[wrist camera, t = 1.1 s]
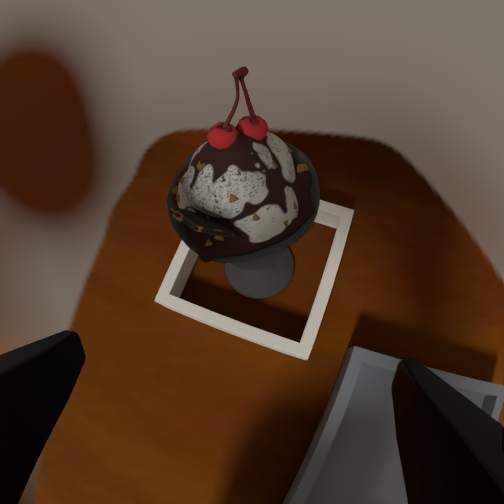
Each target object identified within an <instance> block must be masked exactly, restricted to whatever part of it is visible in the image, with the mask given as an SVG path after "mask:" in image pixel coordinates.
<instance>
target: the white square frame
mask: <svg viewBox="0 0 504 504" xmlns="http://www.w3.org/2000/svg"><path fill="white" fill-rule="evenodd" d="M353 213H354V210H352V209H349V208H345V207H342V206H339V205H336V204H333V203H329V202H326V201H323V200H320V204H319V208H318V213H317V216H316V218H315V220H314V222H317V223H320V224H323V225H326V226H330V227H333V228H336V229H337V230H336V233H335V236H334V240H333V243H332V246H331V250H330V253H329V256H328V259H327V263H326V266H325V269H324V272H323V275H322V278H321V281H320V285H319V288H318V291H317V294H316V297H315V300H314V303H313V306H312V309H311V311H310V314H309V317H308V320H307V323H306V326H305V329H304V332H303V334H302V337H301V340H300V343H298V342H295V341H292V340H289V339H287V338H284V337H281V336H278V335H275V334H272V333H269V332H267V331H264V330H261V329H258V328H255V327H253V326H250V325H247V324H244V323H242V322H239V321H236V320H234V319H231V318H228V317H226V316H223V315H221V314H218V313H215V312H213V311H210V310H208V309H205V308H203V307H200V306H198V305H195V304H192V303H190V302H188V301H185V300H183V299H180V296H181V294H182V291H183V289H184V287H185V284H186V282H187V280H188V278H189V275H190V273H191V271H192V269H193V266H194V264H195V262H196V260H197V257H198V254H196V253H195V252H194V251H192V250H191V249H190V248H189V247H188V246H187V245H186V244H185V243H184V242H183V240H182V241H181V243H180V245H179V248H178V250H177V252H176V254H175V256H174V258H173V260H172V263H171V265H170V267H169V269H168V271H167V274H166V276H165V278H164V280H163V282H162V285H161V287H160V289H159V291H158V294H157V296H156V298H155V300H154V301H156V302H158V303H159V304H161V305H163V306H164V307H166V308H169V309H171V310H173V311H176V312H178V313H181V314H183V315H185V316H188V317H190V318H192V319H195V320H197V321H200V322H202V323H205V324H207V325H210V326H212V327H215V328H217V329H220V330H222V331H225V332H227V333H230V334H233V335H235V336H238V337H241V338H243V339H246V340H249V341H251V342H254V343H257V344H259V345H262V346H265V347H268V348H271V349H273V350H276V351H279V352H282V353H285V354H288V355H291V356H294V357H297V358H300V359H303V360H308V358H309V355H310V352H311V349H312V347H313V344H314V341H315V338H316V335H317V332H318V329H319V326H320V324H321V321H322V318H323V315H324V312H325V308H326V305H327V302H328V299H329V296H330V293H331V290H332V287H333V283H334V280H335V277H336V273H337V270H338V267H339V263H340V260H341V257H342V253H343V250H344V246H345V243H346V239H347V235H348V232H349V228H350V224H351V221H352V217H353Z"/></svg>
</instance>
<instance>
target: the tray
mask: <svg viewBox="0 0 504 504" xmlns="http://www.w3.org/2000/svg"><path fill="white" fill-rule="evenodd" d="M400 360H401V359H397V358H394V357H390V356H387V355H384V354H380V353H377V352H373V351H370V350H367V349H364V348H360V347H357V346H353V347H350V348H348V349H347V350H346V353H345V356H344V359H343V362H342V365H341V367H340V370H339V373H338V376H337V379H336V381H335V384H334V387H333V390H332V392H331V395H330V398H329V400H328V403H327V405H326V408H325V410H324V413H323V416H322V418H321V420H320V423H319V425H318V428H317V430H316V433H315V435H314V437H313V440H312V442H311V444H310V447H309V449H308V451H307V453H306V456H305V458H304V460H303V462H302V464H301V466H300V469H299V471H298V473H297V475H296V477H295V479H294V481H293V483H292V485H291V487H290V489H289V491H288V493H287V495H286V497H285V499H284V501H283V503H282V504H408V501H407V495H406V489H405V483H404V477H403V471H402V466H401V460H400V455H399V450H398V445H397V439H396V431H395V420H394V410H393V400H392V392H391V386H392V381H393V378H394V375H395V372H396V369H397V366H398V363H399V361H400ZM427 368H428V369H430V370H431V371H432V372H434V373H435V374H436V375H438V376H439V377H440V378H442V379H443V380H444V381H446V382H447V383H448V384H449V385H451V386H452V387H453V388H455V389H456V390H457V391H459V392H460V393H461V394H463V395H464V396H465V397H467V398H468V399H469V400H470V401H472V402H473V403H474V404H476V405H477V406H478V407H480V408H481V409H482V410H483V411H485V412H486V413H487V414H489V415H490V416H491V417H493V418H494V419H495V420H496V421H498V418H499V415H500V412H501V408H502V405H503V401H504V386H503V385H498V384H494V383H490V382H485V381H481V380H477V379H473V378H469V377H465V376H461V375H457V374H453V373H449V372H445V371H441V370H437V369H434V368H430V367H427Z"/></svg>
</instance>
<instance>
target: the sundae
mask: <svg viewBox="0 0 504 504" xmlns="http://www.w3.org/2000/svg"><path fill="white" fill-rule="evenodd" d="M232 74H233V77H234V79H235V85H236V100H235V103H234V106H233V108H232V111H231V112H230V114H229V116H228V118H227V120H226V121H225V122H219V123H217V124H215V125H213V126H212V127H211V128H210V129H209V131H208V135H207V138H208V141H207V142H205V143H204V144H203V145H202V146H200V147H199V148H198V149H197V150H196V151H195V152H194V153H193V154H192V155H191V156H190V157H189V158H188V159H187V161H186V162H185V163H184V165H183V166H182V167H181V169H180V170H179V172H178V173H177V175H176V176H175V178H174V180H173V181H172V184H171V186H170V189H169V193H168V199H167V205H168V213H169V216H170V219H171V223H172V226H173V227H174V229H175V230H176V232H177V234H178V235H179V237H180V238H181V239H182V240H183V242H184V243H185V244H186V245H187V246H188V247H189V248H190V249H191V250H192V251H194V252H195V253H196V254H198V256H199V258H200V259H201V260H202V261H204V262H209V261H214V262H219V263H225V272H226V276H227V279H228V281H229V283H230V284H231V286H232V287H233V288H234V289H235V290H236V291H237V292H238V293H240V294H242V295H244V296H246V297H249V298H255V299H264V298H268V297H271V296H274V295H276V294H278V293H279V292H280V291H282V290H283V289H284V288H285V287H286V286H287V285H288V283H289V282H290V280H291V278H292V275H293V273H294V258H293V255H292V252H291V250H290V248H289V247H288V246H290V245H292V244H293V243H295V242H296V241H297V240H299V239H300V238H301V237H302V236H304V235H305V234H306V233H307V231H308V230H309V229H310V227H311V226H312V225H313V223H314V220H315V218H316V216H317V213H318V208H319V204H320V188H319V181H318V176H317V174H316V171H315V169H314V167H313V165H312V163H311V162H310V160H309V159H308V157H307V156H306V155H305V154H304V153H303V152H301V151H300V150H299V149H298V148H296V147H294V146H293V145H291V144H289V143H287V142H284V141H282V140H281V139H280V138H278V137H277V136H276V135H274V134H272V133H270V132H268V125H267V123H266V122H265V120H264V119H262V118H261V117H259V116H256V115H255V114H254V110H253V108H252V105H251V102H250V99H249V95H248V92H247V89H246V86H245V83H244V77H245V76H246V75H247V74H248V69H247V68H246V67H241V68H240V69H238V70H236V71H234V72H233V73H232ZM238 79H239V80H240V82H241V85H242V88H243V91H244V95H245V99H246V103H247V107H248V110H249V113H250V116H244V117H243V118H242V119H240V120H239V123H238V124H237V126H236V127H234V126H233V125H231V124H229V123H230V121H231V119H232V117H233V115H234V113H235V110H236V108H237V105H238V101H239V82H238V81H239V80H238Z"/></svg>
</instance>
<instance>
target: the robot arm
mask: <svg viewBox="0 0 504 504" xmlns="http://www.w3.org/2000/svg"><path fill="white" fill-rule="evenodd" d="M84 362H85V352H84V349H83V346H82V343H81V340H80V337H79V335H78V333H76V332H73V331H68V330H65V331H62V332H60V333H57V334H54V335H52V336H49V337H47V338H44V339H41V340H39V341H36V342H33V343H31V344H28V345H25V346H23V347H20V348H17V349H15V350H12V351H9V352H7V353H4V354H1V355H0V504H18V503H19V500H20V498H21V495H22V493H23V491H24V489H25V486H26V484H27V482H28V480H29V477H30V475H31V473H32V471H33V469H34V467H35V464H36V462H37V460H38V458H39V456H40V454H41V452H42V450H43V448H44V446H45V444H46V442H47V440H48V438H49V436H50V434H51V432H52V430H53V428H54V426H55V424H56V422H57V420H58V418H59V417H60V415H61V413H62V411H63V409H64V407H65V405H66V403H67V401H68V399H69V397H70V395H71V392H72V390H73V388H74V385H75V383H76V381H77V378H78V376H79V374H80V372H81V369H82V367H83V365H84ZM391 392H392V400H393V410H394V420H395V431H396V439H397V445H398V450H399V455H400V460H401V466H402V471H403V477H404V483H405V489H406V495H407V501H408V504H504V427H503V425H502V424H500V423H499V422H498V421H496V420H495V419H494V418H493V417H491V416H490V415H489V414H487V413H486V412H485V411H483V410H482V409H481V408H480V407H478V406H477V405H476V404H474V403H473V402H472V401H470V400H469V399H468V398H467V397H465V396H464V395H463V394H461V393H460V392H459V391H457V390H456V389H455V388H453V387H452V386H451V385H449V384H448V383H447V382H446V381H444V380H443V379H442V378H440V377H439V376H438V375H436V374H435V373H434V372H432V371H431V370H430V369H428V368H427V367H426V366H424V365H423V364H422V363H420V362H419V361H418V360H416V359H414V358H410V359H401V360H400V361H399V363H398V366H397V369H396V372H395V375H394V378H393V381H392V386H391Z"/></svg>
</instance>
